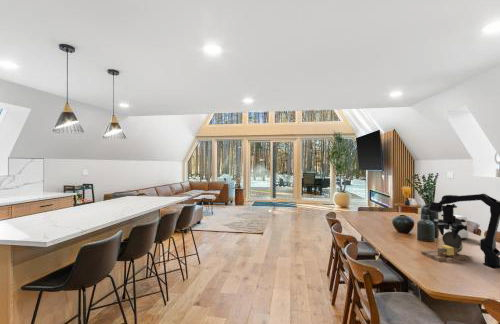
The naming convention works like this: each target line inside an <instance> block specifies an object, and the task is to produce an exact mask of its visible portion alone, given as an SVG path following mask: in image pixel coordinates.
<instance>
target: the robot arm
mask: <svg viewBox="0 0 500 324" xmlns="http://www.w3.org/2000/svg"><path fill="white" fill-rule="evenodd" d="M471 201H475V202H476V201H481V202H483V203H484V204H485V205H486V206H488V207H489V213H490V217H489V221H488V227H487V230H486V233H485V237H483V238H481V239H479V240H480V243H479V248H480V250H481V252H483V254H484V256H483V258H484V259H483V260H484V261H483V262H484V263H483V262H482V265H484V266H487V267H489V268H493V269H497V268H498V269H499V268H500V250H499V249H498V248H497V243H496V237H497V232H498V229H499V224H500V200H498V199H496V198H494V197H491V196H490V195H488V194H486V193H478V194H466V195H457V194H446V195H443V196H441V200H440V201H438V202H436V201H435V202H434V201H430V204H429V208H428V209H429V211H430V212H433V213H441V212H442V214H441V217H442V219H441V218H434V219H433V224H434V225H435V226H436V227H437V229H438V231H439V233H440V235H442V236H443V235H444V226H445V225H449V226H451V227H452V228H451V231H452V235H453V238H454V239H455V238H456V236H457V234H458V232H459V231H460V230H463V229H465V226H464V225H462V224H461V222H462V220H460V219H457V218H456V216H454V215H455V214H454V209H457V208H458V206H457V205H456V203H458V202H471ZM446 223H447V224H446ZM453 223H454V224H453Z"/></svg>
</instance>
